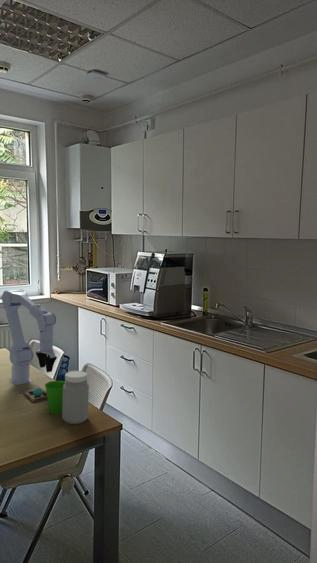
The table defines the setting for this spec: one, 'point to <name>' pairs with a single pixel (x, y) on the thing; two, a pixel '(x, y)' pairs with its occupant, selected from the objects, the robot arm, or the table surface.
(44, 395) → the tray
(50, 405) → the cup
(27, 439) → the table surface
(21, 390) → the coaster
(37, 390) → the ball
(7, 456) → the table surface
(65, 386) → the jar
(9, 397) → the table surface
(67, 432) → the table surface
